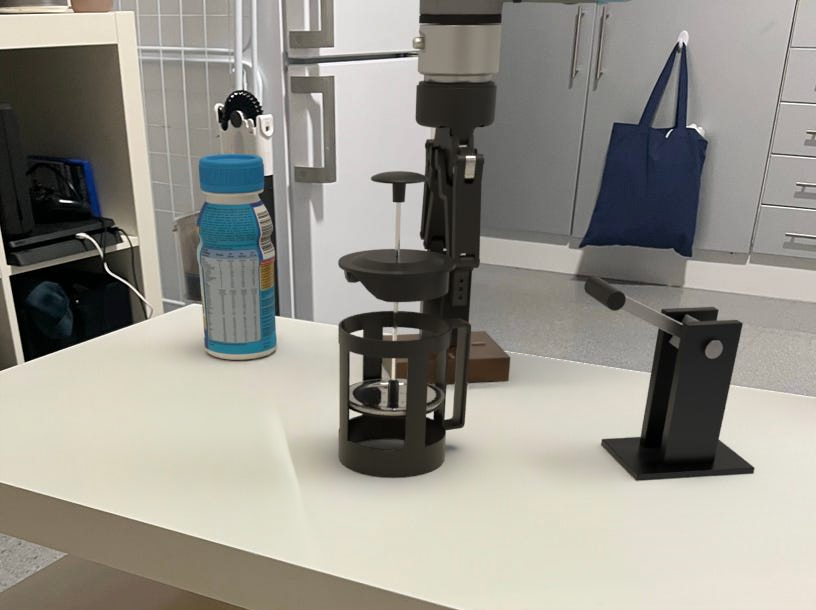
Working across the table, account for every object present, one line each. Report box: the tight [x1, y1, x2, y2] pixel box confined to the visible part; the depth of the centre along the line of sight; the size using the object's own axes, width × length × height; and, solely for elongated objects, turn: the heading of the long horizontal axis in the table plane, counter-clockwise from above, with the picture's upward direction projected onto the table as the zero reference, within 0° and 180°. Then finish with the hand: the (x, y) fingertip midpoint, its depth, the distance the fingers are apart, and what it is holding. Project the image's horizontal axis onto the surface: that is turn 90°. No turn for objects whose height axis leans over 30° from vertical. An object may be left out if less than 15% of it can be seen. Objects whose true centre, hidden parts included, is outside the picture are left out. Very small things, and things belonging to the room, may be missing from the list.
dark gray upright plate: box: [418, 275, 473, 347], centre depth 105 cm, size 5×1×9 cm, turn 98°
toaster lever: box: [583, 275, 699, 348], centre depth 78 cm, size 11×5×2 cm, turn 98°
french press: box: [337, 170, 472, 479], centre depth 80 cm, size 12×9×23 cm
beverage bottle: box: [195, 153, 278, 361], centre depth 110 cm, size 8×8×20 cm
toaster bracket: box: [600, 306, 756, 482], centre depth 82 cm, size 10×8×13 cm
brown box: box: [382, 330, 511, 385], centre depth 109 cm, size 12×10×3 cm
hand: (443, 324), depth 107 cm, fingers open, 8 cm apart
